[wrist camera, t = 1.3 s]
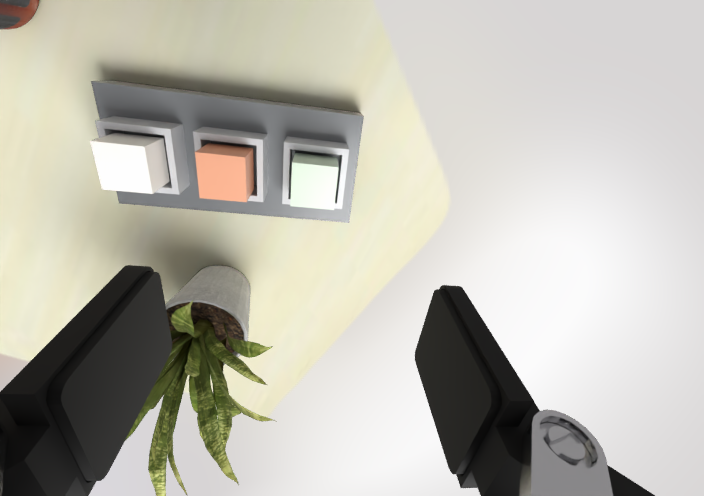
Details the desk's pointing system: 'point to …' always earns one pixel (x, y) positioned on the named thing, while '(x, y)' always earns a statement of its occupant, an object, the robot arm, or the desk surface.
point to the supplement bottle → (16, 12)
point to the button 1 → (131, 162)
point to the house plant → (202, 366)
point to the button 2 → (225, 172)
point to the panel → (232, 144)
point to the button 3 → (314, 181)
